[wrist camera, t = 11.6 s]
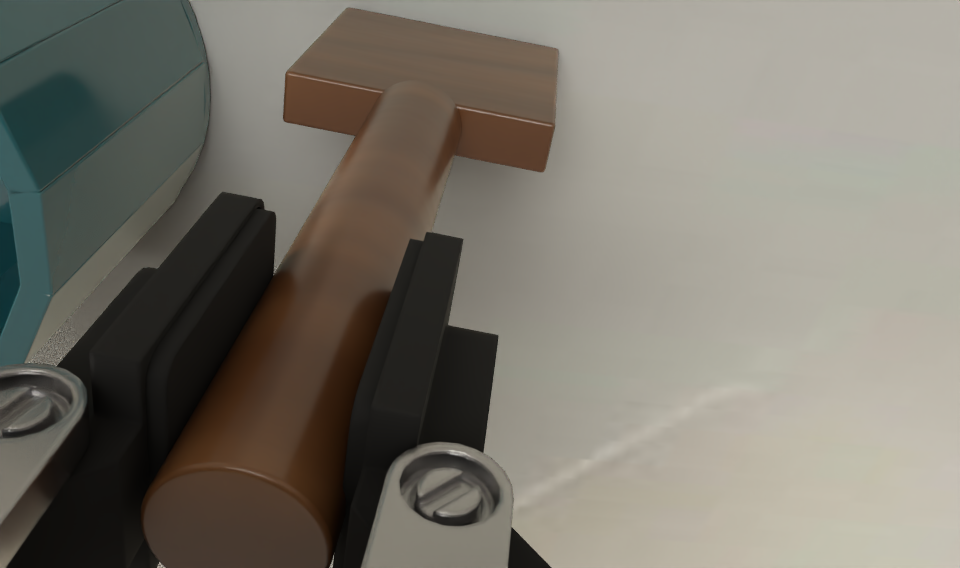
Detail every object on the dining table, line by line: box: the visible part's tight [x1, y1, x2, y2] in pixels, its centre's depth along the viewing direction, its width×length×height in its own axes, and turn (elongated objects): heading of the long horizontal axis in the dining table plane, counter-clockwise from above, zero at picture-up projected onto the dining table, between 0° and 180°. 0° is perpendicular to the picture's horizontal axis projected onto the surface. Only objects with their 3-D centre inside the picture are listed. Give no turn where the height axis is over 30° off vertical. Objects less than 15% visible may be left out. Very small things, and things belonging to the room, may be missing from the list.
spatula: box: [140, 8, 558, 568], centre depth 16 cm, size 2×6×18 cm, turn 80°
